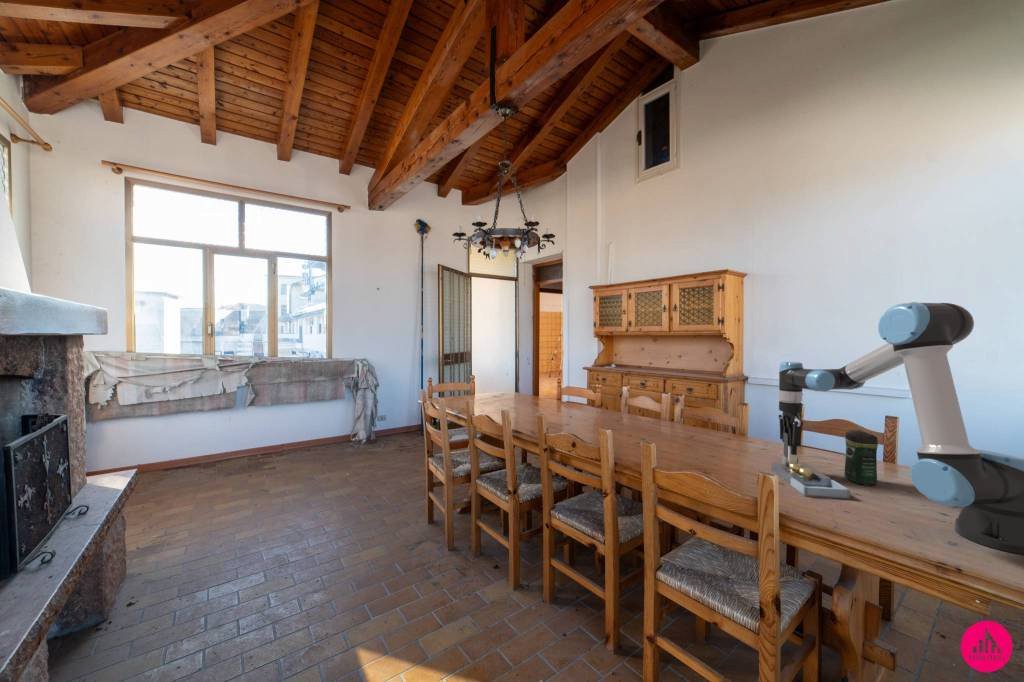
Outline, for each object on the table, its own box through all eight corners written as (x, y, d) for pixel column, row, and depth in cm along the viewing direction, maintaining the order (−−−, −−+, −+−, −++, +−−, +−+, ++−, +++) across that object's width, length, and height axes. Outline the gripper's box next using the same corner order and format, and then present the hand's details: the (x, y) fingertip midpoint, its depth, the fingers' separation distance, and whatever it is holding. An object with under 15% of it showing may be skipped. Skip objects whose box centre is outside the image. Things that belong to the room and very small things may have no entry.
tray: (849, 498, 134) (850, 489, 134) (804, 496, 136) (804, 487, 136) (832, 488, 142) (832, 479, 142) (790, 486, 145) (790, 477, 145)
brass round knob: (804, 474, 151) (804, 466, 151) (792, 473, 152) (792, 465, 152) (798, 470, 155) (798, 462, 155) (786, 469, 156) (786, 462, 155)
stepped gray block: (798, 467, 157) (798, 434, 156) (785, 467, 157) (786, 433, 157) (793, 464, 160) (794, 432, 159) (781, 464, 160) (781, 431, 160)
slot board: (830, 488, 143) (830, 478, 142) (793, 486, 145) (793, 476, 144) (805, 472, 158) (805, 463, 158) (771, 470, 160) (771, 462, 160)
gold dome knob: (814, 479, 146) (814, 471, 145) (802, 478, 146) (802, 470, 146) (808, 475, 150) (808, 467, 149) (796, 474, 150) (796, 466, 150)
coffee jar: (881, 487, 144) (883, 435, 143) (856, 485, 145) (857, 434, 145) (864, 477, 153) (865, 428, 152) (840, 475, 155) (841, 427, 154)
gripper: (813, 405, 149) (812, 468, 150) (790, 398, 165) (789, 455, 166) (790, 404, 150) (790, 467, 151) (770, 397, 167) (769, 454, 167)
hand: (789, 460), depth 158 cm, fingers closed on stepped gray block, 3 cm apart
